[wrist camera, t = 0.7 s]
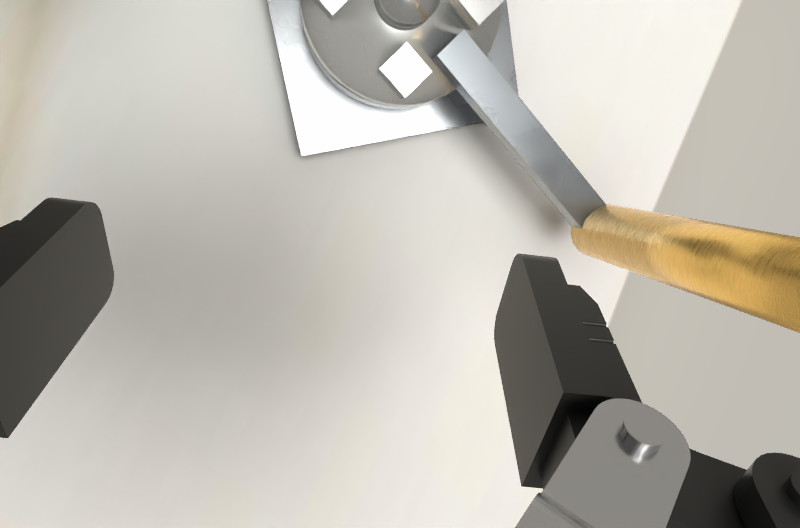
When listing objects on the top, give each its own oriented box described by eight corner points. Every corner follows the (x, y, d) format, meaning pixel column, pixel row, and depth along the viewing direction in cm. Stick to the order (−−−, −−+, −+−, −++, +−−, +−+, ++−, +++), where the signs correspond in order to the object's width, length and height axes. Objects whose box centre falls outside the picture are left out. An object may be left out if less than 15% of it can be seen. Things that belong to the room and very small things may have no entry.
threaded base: (248, -86, 29) (231, -158, 22) (478, -116, 31) (526, -191, 24) (301, 156, 32) (300, 157, 25) (508, 117, 34) (559, 108, 27)
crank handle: (259, 3, 28) (92, -526, 6) (397, -134, 28) (733, -1187, 6) (527, 295, 34) (932, 558, 12) (643, 183, 34) (1270, 242, 12)
